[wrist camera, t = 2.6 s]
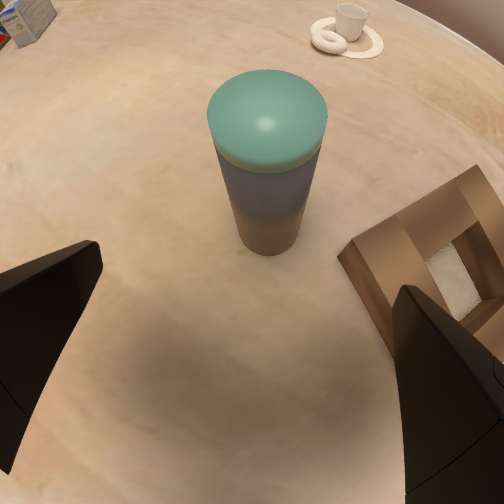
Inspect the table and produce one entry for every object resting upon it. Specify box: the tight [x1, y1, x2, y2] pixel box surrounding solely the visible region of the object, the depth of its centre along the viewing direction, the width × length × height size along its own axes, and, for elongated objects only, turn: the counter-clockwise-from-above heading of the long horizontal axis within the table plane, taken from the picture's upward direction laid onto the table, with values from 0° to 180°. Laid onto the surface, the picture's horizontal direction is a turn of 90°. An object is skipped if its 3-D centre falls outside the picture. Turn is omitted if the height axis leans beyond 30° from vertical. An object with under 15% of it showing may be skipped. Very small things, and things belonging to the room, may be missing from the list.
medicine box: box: [0, 0, 57, 48], centre depth 28 cm, size 8×4×9 cm, turn 176°
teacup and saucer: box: [310, 3, 383, 59], centre depth 25 cm, size 9×8×4 cm
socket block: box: [337, 164, 504, 363], centre depth 18 cm, size 12×12×4 cm
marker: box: [207, 70, 328, 256], centre depth 15 cm, size 4×4×12 cm
